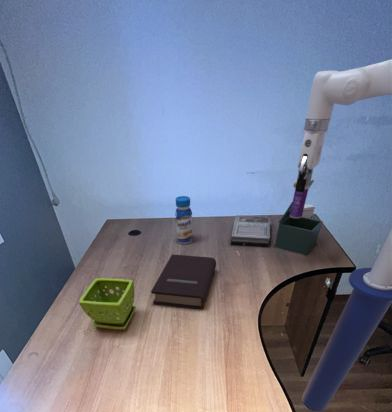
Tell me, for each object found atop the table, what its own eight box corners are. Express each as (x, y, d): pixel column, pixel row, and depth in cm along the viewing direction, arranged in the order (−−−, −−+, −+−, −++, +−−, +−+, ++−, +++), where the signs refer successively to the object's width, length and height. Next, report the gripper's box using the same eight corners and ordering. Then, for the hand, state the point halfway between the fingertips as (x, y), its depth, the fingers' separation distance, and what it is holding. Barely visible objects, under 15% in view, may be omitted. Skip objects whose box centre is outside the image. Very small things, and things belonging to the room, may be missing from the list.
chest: (315, 243, 130) (322, 221, 122) (306, 255, 123) (312, 231, 115) (285, 236, 137) (290, 214, 129) (274, 246, 129) (279, 224, 121)
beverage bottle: (194, 237, 139) (193, 195, 124) (192, 244, 133) (190, 201, 119) (178, 236, 140) (175, 194, 125) (175, 244, 134) (171, 201, 120)
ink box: (304, 226, 145) (310, 203, 136) (309, 230, 141) (315, 206, 133) (290, 228, 143) (295, 205, 135) (294, 232, 140) (300, 208, 131)
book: (204, 310, 97) (204, 296, 92) (153, 304, 100) (151, 291, 95) (216, 270, 115) (216, 257, 111) (173, 266, 118) (171, 254, 114)
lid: (314, 180, 115) (305, 173, 115) (302, 189, 107) (293, 181, 108) (291, 214, 129) (283, 207, 129) (279, 223, 121) (271, 216, 122)
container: (290, 218, 104) (299, 174, 93) (289, 214, 107) (297, 170, 97) (302, 218, 104) (313, 173, 93) (300, 214, 107) (311, 170, 96)
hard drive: (230, 245, 132) (231, 236, 129) (235, 223, 150) (235, 215, 147) (268, 247, 129) (269, 238, 126) (268, 225, 147) (269, 216, 144)
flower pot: (105, 306, 99) (95, 276, 90) (141, 309, 98) (134, 279, 88) (89, 331, 90) (76, 301, 81) (128, 335, 88) (119, 304, 79)
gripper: (320, 130, 79) (304, 197, 92) (335, 122, 89) (319, 184, 102) (295, 129, 82) (283, 194, 96) (312, 122, 92) (299, 182, 105)
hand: (302, 188), depth 99 cm, fingers closed on container, 4 cm apart
